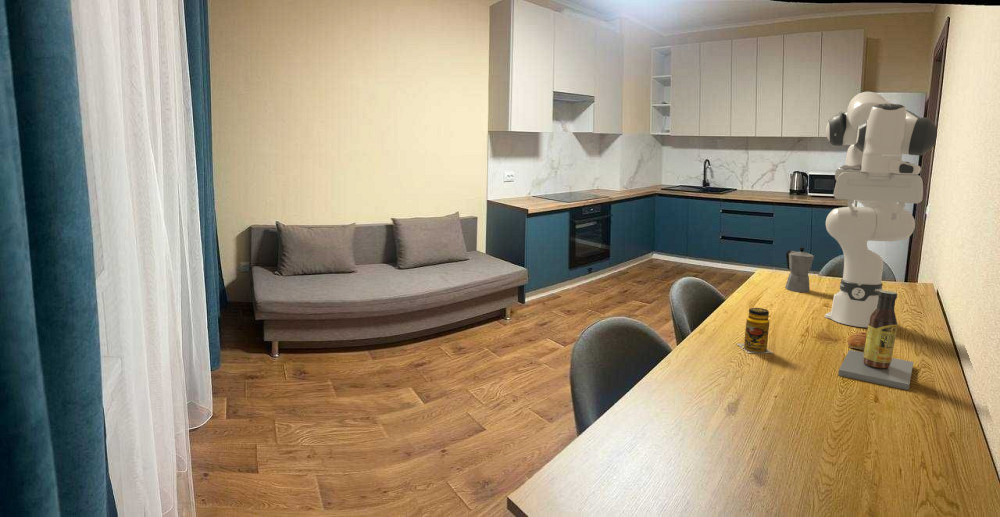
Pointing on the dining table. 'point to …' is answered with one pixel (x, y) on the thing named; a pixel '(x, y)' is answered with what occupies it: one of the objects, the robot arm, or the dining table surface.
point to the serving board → (877, 371)
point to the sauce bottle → (881, 332)
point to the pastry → (857, 340)
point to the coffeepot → (798, 270)
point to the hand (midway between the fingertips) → (873, 218)
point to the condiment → (756, 331)
